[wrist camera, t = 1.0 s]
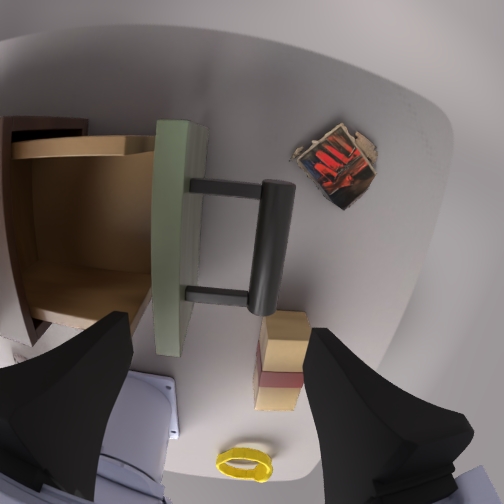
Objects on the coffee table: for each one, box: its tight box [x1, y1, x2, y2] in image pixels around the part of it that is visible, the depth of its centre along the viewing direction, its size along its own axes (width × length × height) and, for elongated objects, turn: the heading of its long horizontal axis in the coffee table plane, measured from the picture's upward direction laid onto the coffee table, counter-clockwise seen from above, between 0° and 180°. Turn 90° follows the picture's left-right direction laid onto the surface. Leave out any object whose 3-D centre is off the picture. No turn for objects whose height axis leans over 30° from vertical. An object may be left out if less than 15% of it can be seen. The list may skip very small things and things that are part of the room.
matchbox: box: [289, 123, 378, 210], centre depth 17 cm, size 5×5×1 cm
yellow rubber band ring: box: [216, 448, 273, 483], centre depth 27 cm, size 6×3×6 cm
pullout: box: [11, 119, 296, 357], centre depth 14 cm, size 17×10×7 cm, turn 84°
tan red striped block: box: [253, 310, 311, 411], centre depth 21 cm, size 7×3×4 cm, turn 174°
